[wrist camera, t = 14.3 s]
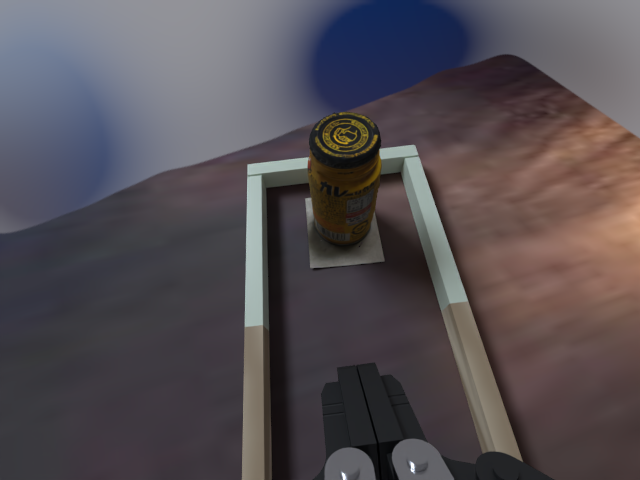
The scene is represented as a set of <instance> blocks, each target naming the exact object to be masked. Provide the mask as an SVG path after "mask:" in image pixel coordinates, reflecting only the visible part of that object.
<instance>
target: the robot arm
mask: <svg viewBox="0 0 640 480" xmlns="http://www.w3.org/2000/svg"><path fill="white" fill-rule="evenodd" d="M337 371H338V381H339V382H332V383H326V384H325V386H324V389H323V391H322V393H321V397H322V409H323V421H324V433H325V445H326V461H325V464H324V467H323V469H322V470H321V472H320V473H319V474H318V475H317V476H316V477H315V478H314V479H313V480H554V479H552V478H550V477H549V476H547V475H545V474H543V473H541V472H540V471H538V470H536V469H534V468H533V467H531V466H529V465H527V464H525V463H524V462H522V461H520V460H518V459H516V458H515V457H513V456H511V455H508V454H506V453H502V452H496V451H490V452H486V453H483V454H482V455H480V456H479V457H478V459H477V461H476V464H471V463H466V462H460V461H455V460H451V459H448V458H446V457H444V456H442V455H440V454H439V452H438V451H437V450H436V449H435V448H434V447H433V446H432V445H430V444H429V443H428V442H427V440H426V438H425V436H424V434H423V431H422V429H421V427H420V425H419V423H418V421H417V418H416V416H415V414H414V412H413V410H412V408H411V405H410V404H409V401H408V399H407V397H406V396H405V392H404V390H403V388H402V386H401V384H400V382H399V381H397V380H396V379H395V378H394V377H393V376H392V375H384V376H380V374H379V372H378V369H377V366H376V364H375V363H368V364H360V365H356V366H355V365H353V366H346V367H338V368H337Z"/></svg>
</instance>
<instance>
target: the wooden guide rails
mask: <svg viewBox="0 0 640 480" xmlns="http://www.w3.org/2000/svg"><path fill="white" fill-rule="evenodd" d="M441 312H442V316H443V319H444V323H445V326H446V330H447V333H448V336H449V340H450V343H451V347H452V350H453V353H454V357H455V360H456V364H457V367H458V370H459V374H460V377H461V381H462V384H463V388H464V391H465V394H466V398H467V401H468V405H469V408H470V411H471V415H472V418H473V422H474V425H475V428H476V432H477V435H478V439H479V442H480V446H481V449H482V452H483V453H486V452H490V451H496V452H502V453H506V454H508V455H511V456H513V457H515V458H516V459H518V460H520V461H522V462H523V460H522V457H521V455H520V452H519V449H518V446H517V443H516V440H515V437H514V434H513V431H512V428H511V425H510V422H509V419H508V416H507V413H506V411H505V408H504V405H503V402H502V399H501V396H500V393H499V390H498V387H497V384H496V381H495V378H494V375H493V372H492V370H491V367H490V364H489V361H488V358H487V355H486V352H485V349H484V346H483V343H482V340H481V337H480V334H479V331H478V329H477V326H476V323H475V320H474V317H473V314H472V311H471V308H470V305H469V302H468V301H467V302H458V303H450V304H449V305H448V306H447V307H446V308H445V309H444V310H442V311H441ZM242 480H272V453H271V402H270V351H269V331H268V330H267V329H266V328H265V327H264V326H263V325H259V326H250V327H245V345H244V401H243V457H242Z"/></svg>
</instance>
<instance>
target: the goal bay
mask: <svg viewBox="0 0 640 480" xmlns="http://www.w3.org/2000/svg"><path fill="white" fill-rule="evenodd" d="M379 150H380V158H381V163H382V169H381V174H389V173H397V172H401V176H402V179H403V183H404V186H405V190H406V193H407V196H408V200H409V203H410V207H411V210H412V214H413V217H414V220H415V224H416V227H417V231H418V234H419V237H420V241H421V244H422V248H423V251H424V254H425V258H426V261H427V265H428V268H429V272H430V275H431V278H432V282H433V285H434V289H435V292H436V295H437V299H438V302H439V306H440V309H441V311H442V310H444V309H445V308H446V307H447V306H448V305H449V304H450V303H458V302H467V301H468V299H467V296H466V293H465V290H464V288H463V285H462V282H461V279H460V276H459V273H458V270H457V267H456V264H455V261H454V258H453V255H452V252H451V249H450V247H449V244H448V241H447V238H446V235H445V232H444V229H443V226H442V223H441V220H440V217H439V214H438V211H437V208H436V206H435V203H434V200H433V197H432V194H431V191H430V188H429V185H428V182H427V179H426V176H425V173H424V170H423V167H422V165H421V162H420V159H419V157H418V153H417V150H416V147H415V145H409V146H401V147H392V148H384V149H379ZM308 159H309V157H307V158H299V159H290V160H282V161H273V162H265V163H256V164H248V177H247V233H246V289H245V327H250V326H259V325H263V326H264V327H265V328H266V329H267V330H268V331H269V300H268V249H267V198H266V188H269V187H278V186H286V185H295V184H303V183H309V179H308V167H307V166H308Z"/></svg>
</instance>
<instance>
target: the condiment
mask: <svg viewBox="0 0 640 480" xmlns="http://www.w3.org/2000/svg"><path fill="white" fill-rule="evenodd" d="M309 145H310V156H309V159H308V166H307V167H308V179H309V186H310V193H311V198H305V200H306V213H307V227H308V241H309V255H310V268H318V267H319V268H323V267H333V266H346V265H356V264H364V263H374V262H385V260H384V255H383V250H382V245H381V241H380V235H379V230H378V226H377V221H376V216H375V206H376V198H377V193H378V188H379V185H380V183H379V181H380V176H381V169H382V163H381V158H380V150H379V149H380V147H381V138H380V132H379V130H378V127H377V125H376V124H375V123H373V122H372V121H371V120H370V119H369V118H368V117H366V116H363V115H360V114H357V113H352V112H340V113H333V114H332V115H329V116H326V117H324V118H323V119H321V120H320V121H319V122H318V123H316V124H315V126H314V128H313V130H312V132H311V134H310V138H309ZM321 240H322V241H321ZM361 242H363V243H362V244H360V243H361ZM359 245H361V246H360V248H358V246H359Z"/></svg>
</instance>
